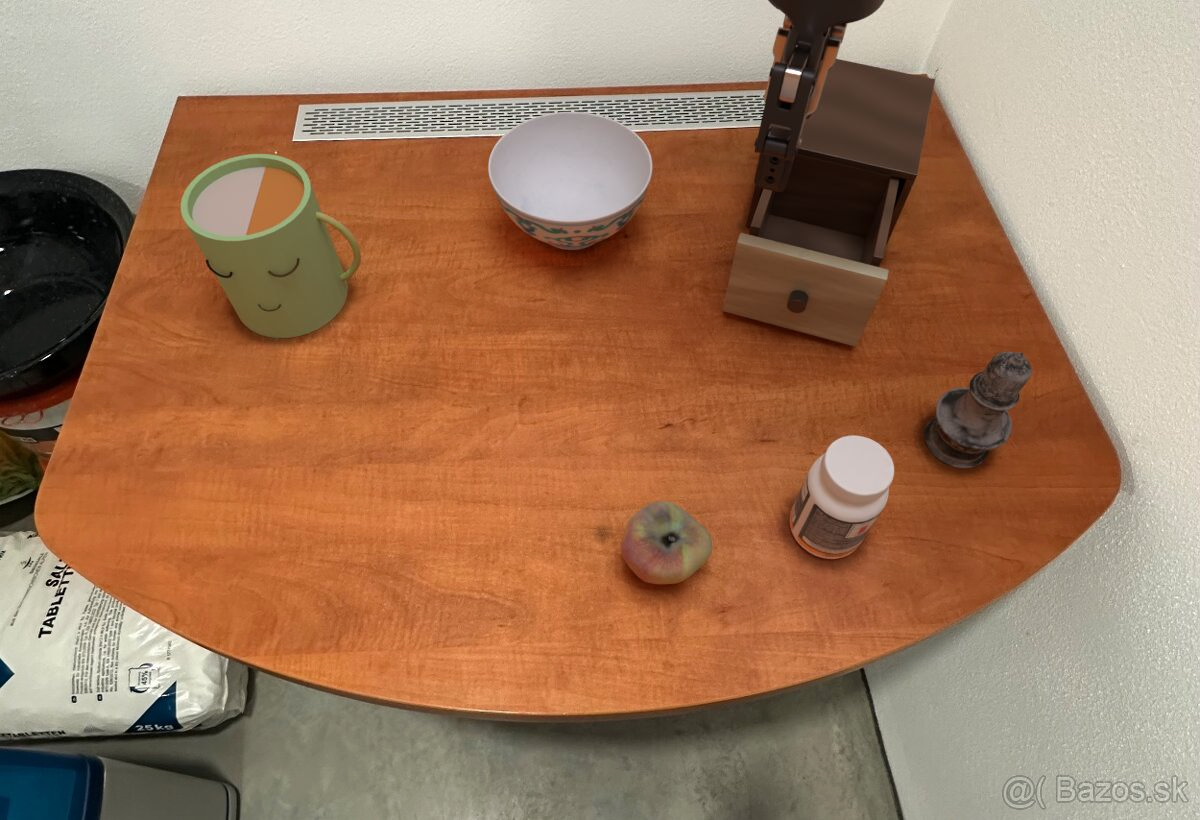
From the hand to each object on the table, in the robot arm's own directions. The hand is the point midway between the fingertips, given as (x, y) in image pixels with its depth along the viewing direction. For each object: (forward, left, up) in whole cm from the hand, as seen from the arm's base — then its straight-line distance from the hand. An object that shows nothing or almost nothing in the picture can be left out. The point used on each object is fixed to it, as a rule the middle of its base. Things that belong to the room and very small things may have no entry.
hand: (783, 149), depth 58 cm
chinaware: (+19, -5, -19) cm, 27 cm away
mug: (+39, +12, -19) cm, 45 cm away
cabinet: (-4, -18, -19) cm, 26 cm away
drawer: (-4, -5, -18) cm, 19 cm away
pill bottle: (-11, +19, -19) cm, 29 cm away
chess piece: (-20, +7, -19) cm, 28 cm away
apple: (+1, +26, -19) cm, 32 cm away
